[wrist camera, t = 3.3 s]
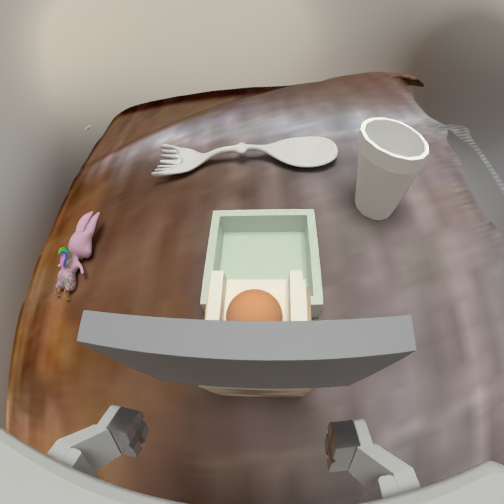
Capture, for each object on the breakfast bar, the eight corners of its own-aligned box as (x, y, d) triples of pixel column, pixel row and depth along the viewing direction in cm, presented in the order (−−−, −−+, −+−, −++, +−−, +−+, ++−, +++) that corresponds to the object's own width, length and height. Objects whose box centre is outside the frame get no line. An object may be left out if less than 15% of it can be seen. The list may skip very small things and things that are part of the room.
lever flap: (345, 387, 19) (415, 350, 9) (168, 382, 21) (76, 340, 10) (337, 284, 24) (375, 181, 14) (181, 284, 25) (125, 188, 15)
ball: (282, 293, 22) (283, 284, 18) (281, 344, 21) (283, 346, 17) (231, 293, 23) (222, 284, 19) (230, 343, 21) (220, 344, 18)
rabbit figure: (82, 306, 36) (114, 218, 42) (57, 295, 31) (96, 198, 37) (58, 296, 38) (88, 215, 43) (33, 285, 32) (69, 196, 38)
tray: (311, 228, 39) (313, 209, 36) (318, 317, 32) (323, 304, 29) (218, 229, 40) (213, 210, 37) (207, 316, 33) (200, 304, 30)
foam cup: (408, 228, 38) (440, 163, 27) (353, 229, 39) (374, 158, 28) (390, 183, 43) (410, 120, 32) (339, 183, 44) (352, 114, 33)
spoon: (164, 155, 52) (160, 142, 49) (329, 142, 50) (331, 128, 47) (155, 187, 47) (149, 173, 44) (341, 173, 45) (344, 157, 43)
